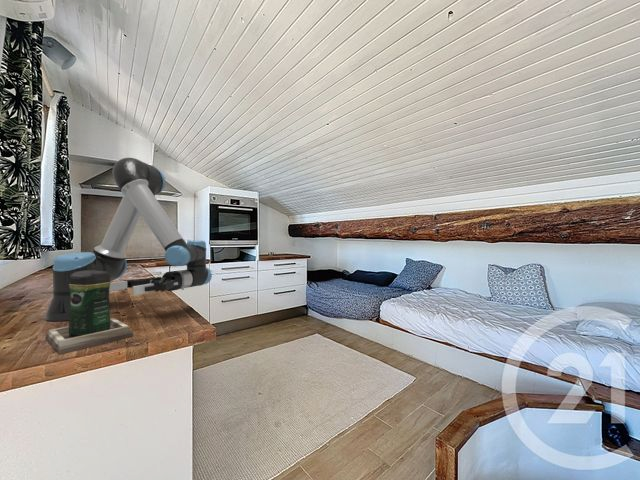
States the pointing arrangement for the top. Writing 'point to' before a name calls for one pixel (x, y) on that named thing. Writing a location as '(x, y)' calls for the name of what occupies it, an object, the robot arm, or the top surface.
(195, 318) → the top surface
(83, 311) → the coffee jar
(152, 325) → the top surface
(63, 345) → the board
